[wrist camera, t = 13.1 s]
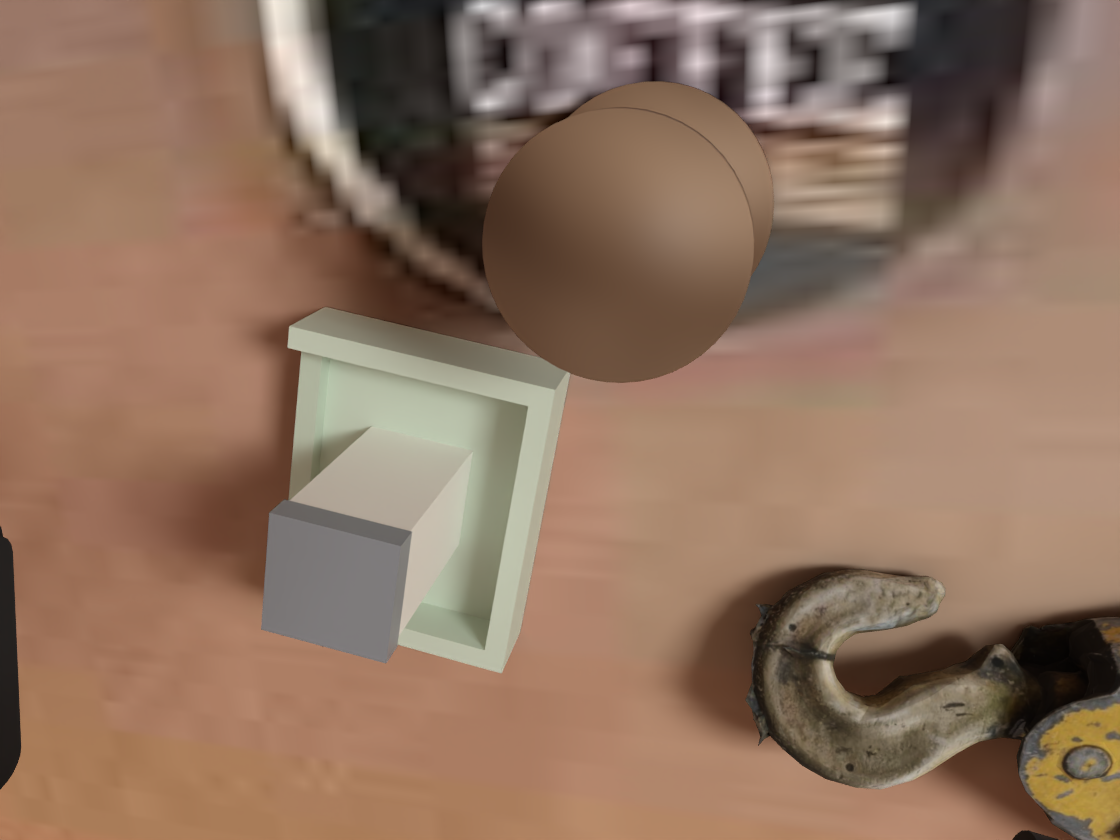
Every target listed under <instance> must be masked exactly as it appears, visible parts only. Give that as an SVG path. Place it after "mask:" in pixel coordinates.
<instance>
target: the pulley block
mask: <svg viewBox="0 0 1120 840" xmlns="http://www.w3.org/2000/svg"><path fill="white" fill-rule="evenodd" d="M944 596H945V588H944V586H943V583H941V582H939V581H937V580H935V579H933V578H931V577H929V576H912V577H904V576H897V575H890V574H883V573H878V572H873V571H867V570H856V569H846V570H840V571H834V572H828V573H823V574H821V575H819V576H817V577H815V578H813V579H811V580H809V581H807V582H805V583H803V584H801V585H799V586H797V587H795V588H793V589H792V590H790V591H788V592H786V593H785V595H784V596H783V597H782V599H781V600H780V601H778V602H777V603H776V604H774V605H767V604H756V606H757V607H759V609H760V612H761V615H762V616H761V618H760V620H759V621H758V623H757V626H756V627H755V628H754V629H752V630H751V633H750V635H751V637H752V640H753V647H754V651H753V657H752V684H751V687H750V690H749V692H748V695H747V698H746V702H747V703H748V705H749V706H750V707H751V709H752V712H753V716H754V719H753V720H754V721H755V723H756V725H757V728H758V730H759V733H760V740H759V744H760V743H761V742H762V741H763V740H764V739H765V738H767V737H768V736H771V737H772V738H773V739H774V740H775V741H776V742H777V743H778V744H779V745H780V746H781V747H782V748H783V749H784V750H785V751H786V752H787V753H788V754H789V755H791V756H792V757H793V758H794V759H795V760H796V761H798V762H799V763H800V764H801V765H802V766H804V767H806V768H807V769H809V770H811V771H813V772H814V773H816V774H818V775H820V776H822V777H823V778H825V779H828V780H831V781H835V782H838V783H842V784H845V785H849V786H852V787H856V788H869V789H884V788H887V787H891V786H894V785H898V784H902V783H905V782H909V781H912V780H914V779H916V778H918V777H920V776H922V775H924V774H926V773H928V772H929V771H931V770H932V769H934V768H936V767H937V766H939V765H940V764H942V763H943V762H945V761H946V760H948V759H949V758H951V757H952V756H954V755H955V754H957V753H958V752H960V751H962V750H964V749H966V748H968V747H970V746H972V745H974V744H975V743H977V742H980V741H985V740H990V739H995V738H1000V737H1003V738H1012V739H1020V740H1022V742H1021V745H1020V748H1019V751H1018V754H1017V764H1018V773H1019V776H1020V779H1021V781H1022V784H1023V786H1024V788H1025V790H1026V792H1027V793H1028V794H1029V795H1030V796H1031V797H1032V798H1033V799H1034V800H1035V801H1036V803H1037V804H1038V805H1039V806H1040V807H1041V808H1042V809H1043V810H1044V812H1045V813H1046V815H1047V817H1048V818H1049V820H1050V821H1051V823H1052V824H1054V825H1055V826H1057V827H1058V828H1060V829H1061V830H1063V831H1065V832H1066V833H1068V834H1069V835H1071V836H1072V837H1074V838H1076V839H1077V840H1120V617H1102V618H1093V619H1085V620H1081V621H1077V622H1072V623H1065V624H1055V625H1045V626H1042V627H1041V628H1036V627H1033V626H1028V627H1025V628H1024V630H1023V632H1022V634H1021V637H1020V639H1019V640H1018V642H1017V643H1016V644H1015V646H1014V647H1013V648H1012V650H1011V651H1009V650H1008V649H1007V648H1006V647H1005V646H1004V645H1003V644H995V645H989V646H985V647H983V648H982V649H981V650H980V651H978V652H977V653H976V654H975V655H973V656H972V657H971V658H970V659H968V660H967V661H966V662H963V663H959V664H955V665H952V666H950V667H948V668H946V669H942V670H937V671H931V672H925V673H919V674H914V675H908V676H899V677H898V678H897V679H895V680H894V681H893V682H892V683H890V684H889V685H888V686H887V687H885V688H884V689H883V690H882V691H881V692H879V693H878V694H876V695H870V696H865V697H862V696H859V695H857V694H854V693H851V692H848V691H846V690H845V689H844V688H843V686H842V685H841V684H840V682H839V681H838V680H837V678H836V675H835V672H834V669H833V663H834V659H835V655H836V651H837V649H838V648H839V647H840V646H841V645H842V643H843V642H844V641H845V640H847V639H848V638H850V637H851V636H853V635H854V634H856V633H864V632H872V631H880V630H887V629H892V628H898V627H903V626H907V625H910V624H912V623H915V622H917V621H920V620H923V619H926V618H929V617H931V616H932V615H933V614H935V613H936V612H937V610H938V607H939V604H940V602H941V601H942V599H943V598H944ZM759 744H758V746H759Z"/></svg>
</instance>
